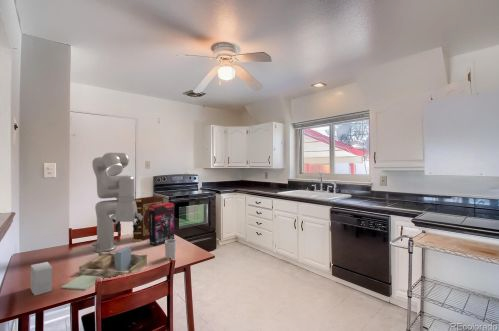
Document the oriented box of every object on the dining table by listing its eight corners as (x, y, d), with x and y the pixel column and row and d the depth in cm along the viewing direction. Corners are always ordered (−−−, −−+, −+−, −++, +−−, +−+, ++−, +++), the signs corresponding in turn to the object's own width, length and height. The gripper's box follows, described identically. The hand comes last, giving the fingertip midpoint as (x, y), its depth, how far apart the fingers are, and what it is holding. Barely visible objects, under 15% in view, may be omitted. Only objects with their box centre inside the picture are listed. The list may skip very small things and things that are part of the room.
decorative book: (137, 242, 181) (137, 200, 181) (130, 240, 186) (130, 199, 185) (163, 234, 200) (163, 196, 200) (156, 233, 205) (156, 195, 204)
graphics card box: (154, 246, 172) (154, 206, 172) (148, 244, 176) (148, 205, 175) (174, 240, 186) (174, 203, 186) (168, 238, 190) (168, 202, 190)
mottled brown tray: (79, 274, 130) (79, 262, 130) (100, 262, 145) (100, 252, 144) (131, 277, 126) (131, 265, 126) (146, 265, 141) (146, 254, 141)
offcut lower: (89, 273, 132) (89, 267, 132) (101, 265, 141) (101, 260, 141) (101, 273, 131) (101, 268, 131) (113, 266, 140) (113, 261, 140)
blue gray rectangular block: (115, 273, 131) (115, 252, 130) (125, 266, 140) (125, 246, 139) (120, 274, 130) (120, 252, 130) (131, 266, 139) (131, 246, 139)
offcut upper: (91, 267, 132) (91, 261, 132) (100, 261, 140) (100, 255, 140) (103, 267, 132) (102, 261, 132) (111, 261, 140) (111, 255, 140)
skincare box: (52, 290, 113) (52, 267, 113) (34, 296, 108) (33, 271, 108) (48, 283, 120) (47, 260, 120) (30, 288, 115) (29, 265, 115)
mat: (61, 288, 115) (61, 286, 115) (81, 276, 127) (81, 275, 127) (85, 289, 114) (85, 288, 114) (104, 277, 126) (104, 276, 126)
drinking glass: (166, 260, 149) (166, 243, 148) (163, 256, 154) (163, 240, 154) (178, 257, 153) (178, 241, 152) (174, 254, 158) (174, 238, 158)
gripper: (106, 200, 133) (107, 233, 133) (138, 200, 131) (138, 233, 131) (115, 198, 140) (115, 229, 140) (145, 198, 139) (146, 230, 139)
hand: (126, 231), depth 136 cm, fingers open, 9 cm apart
